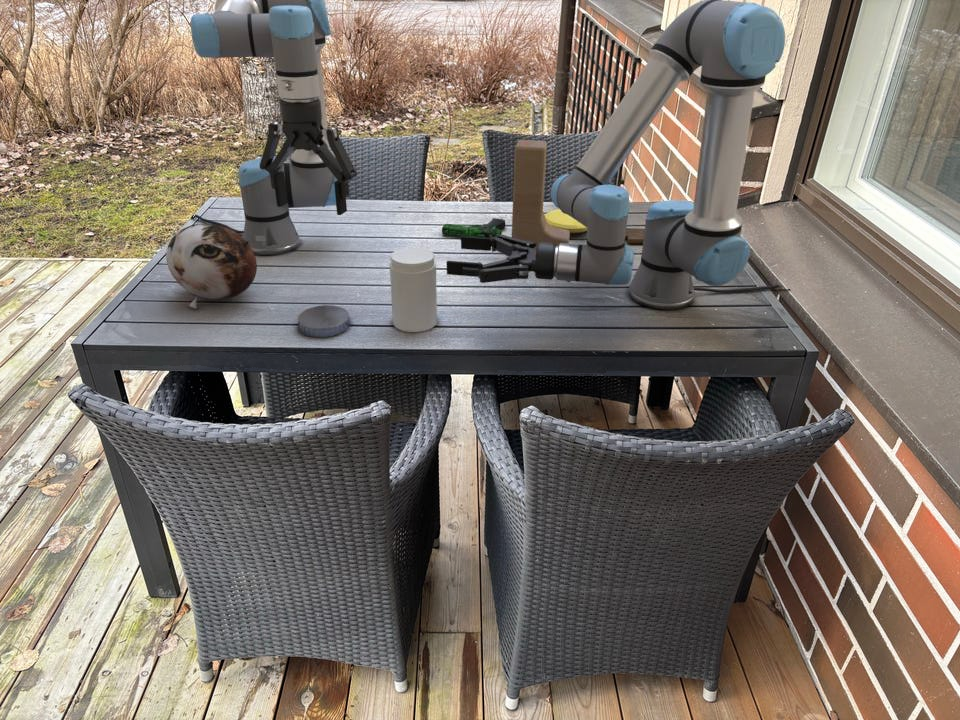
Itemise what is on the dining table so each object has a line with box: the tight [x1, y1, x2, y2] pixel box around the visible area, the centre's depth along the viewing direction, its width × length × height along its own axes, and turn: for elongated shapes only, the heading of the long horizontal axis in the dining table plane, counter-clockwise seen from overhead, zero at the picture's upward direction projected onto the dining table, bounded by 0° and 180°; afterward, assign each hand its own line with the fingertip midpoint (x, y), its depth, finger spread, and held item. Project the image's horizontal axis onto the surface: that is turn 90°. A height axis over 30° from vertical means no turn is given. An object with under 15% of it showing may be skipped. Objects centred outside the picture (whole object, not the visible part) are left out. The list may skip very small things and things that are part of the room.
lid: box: [297, 304, 351, 338], centre depth 157 cm, size 11×11×2 cm
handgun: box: [441, 217, 506, 239], centre depth 207 cm, size 16×3×15 cm
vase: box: [544, 208, 588, 234], centre depth 209 cm, size 16×16×7 cm
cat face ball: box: [165, 222, 258, 309], centre depth 165 cm, size 22×18×20 cm
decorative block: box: [511, 139, 571, 249], centre depth 184 cm, size 8×15×30 cm, turn 82°
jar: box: [389, 246, 438, 333], centre depth 155 cm, size 10×10×16 cm
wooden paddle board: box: [625, 227, 645, 244], centre depth 205 cm, size 26×2×10 cm
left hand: (311, 209), depth 144 cm, fingers open, 13 cm apart
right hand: (454, 254), depth 149 cm, fingers open, 13 cm apart
